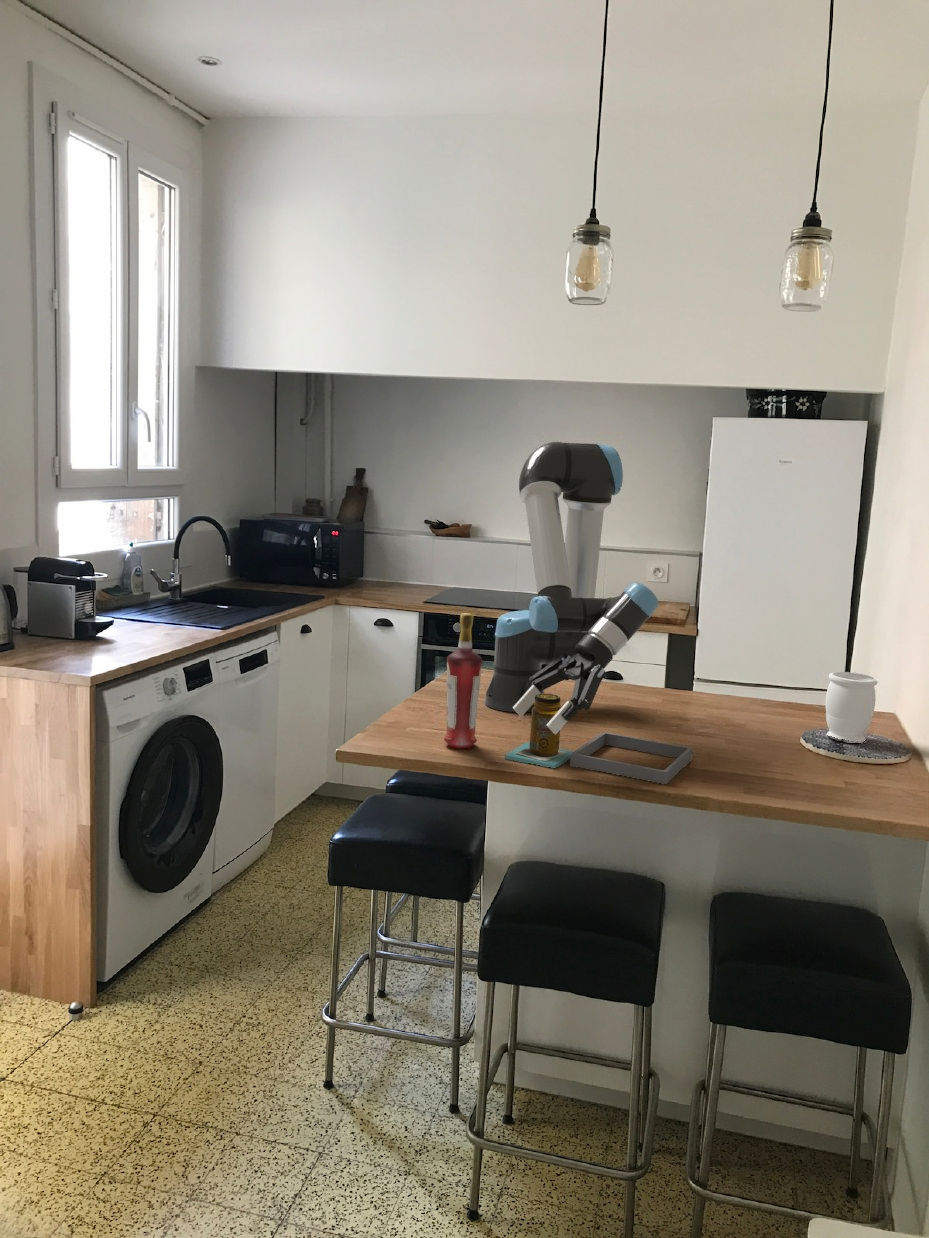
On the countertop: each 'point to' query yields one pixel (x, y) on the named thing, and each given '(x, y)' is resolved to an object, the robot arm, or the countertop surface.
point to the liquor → (463, 689)
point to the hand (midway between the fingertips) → (533, 720)
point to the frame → (645, 773)
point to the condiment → (543, 729)
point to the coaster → (549, 763)
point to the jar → (850, 705)
